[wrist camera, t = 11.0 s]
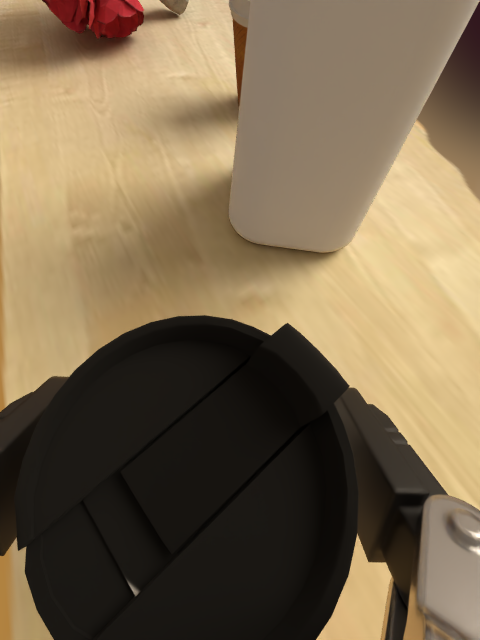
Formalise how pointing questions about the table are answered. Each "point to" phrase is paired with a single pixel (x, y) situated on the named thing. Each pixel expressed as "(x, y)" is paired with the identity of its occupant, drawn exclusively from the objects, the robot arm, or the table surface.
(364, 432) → the robot arm
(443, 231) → the table surface
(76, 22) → the bouquet
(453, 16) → the plastic bottle
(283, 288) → the table surface
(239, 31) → the disposable coffee cup
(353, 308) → the table surface
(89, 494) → the travel mug
